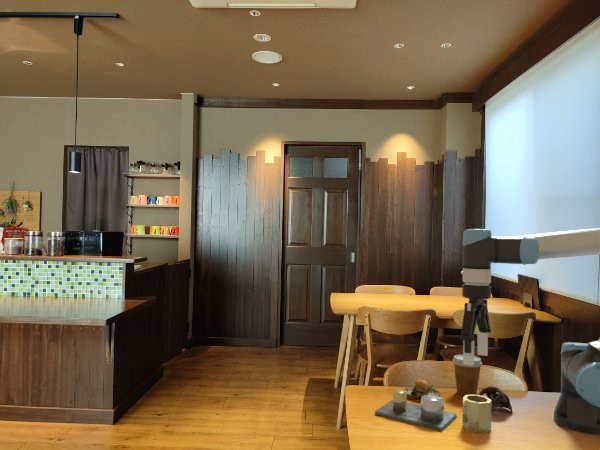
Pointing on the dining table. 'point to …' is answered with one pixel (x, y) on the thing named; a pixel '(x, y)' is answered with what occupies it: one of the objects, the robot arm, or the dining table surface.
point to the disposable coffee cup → (466, 375)
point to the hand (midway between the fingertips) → (475, 359)
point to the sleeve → (477, 413)
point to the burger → (420, 390)
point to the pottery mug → (496, 397)
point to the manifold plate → (417, 411)
